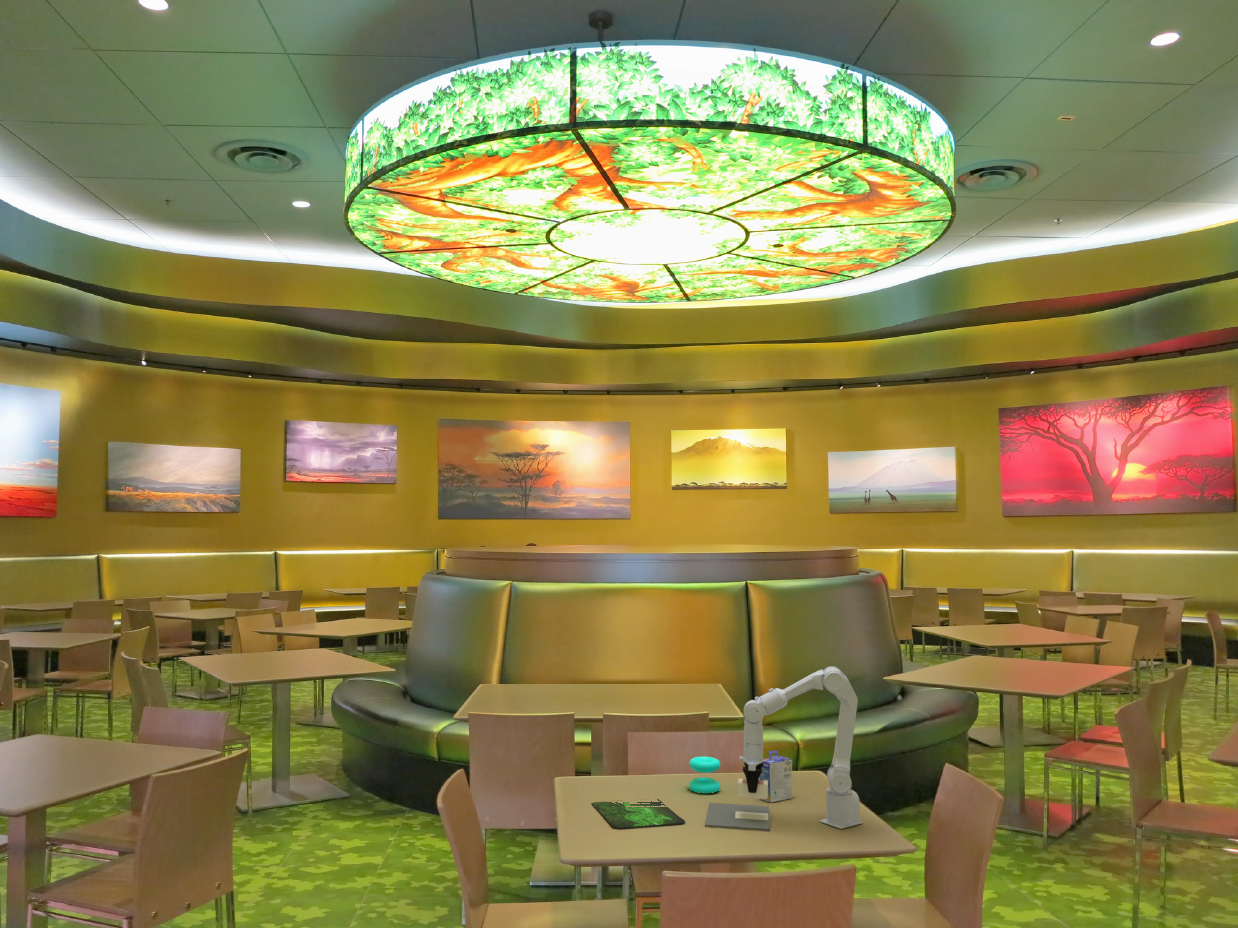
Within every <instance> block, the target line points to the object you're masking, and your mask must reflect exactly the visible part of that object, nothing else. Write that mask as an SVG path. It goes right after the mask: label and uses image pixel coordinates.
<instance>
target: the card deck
mask: <svg viewBox="0 0 1238 928" xmlns="http://www.w3.org/2000/svg"><path fill="white" fill-rule="evenodd" d="M737 798H748V799H758V800H759V799H760V800H762V799H767V798H768V781H766V780H760V779H759V780H758V786H757V791H756V793H749V791H748V786H747V780H746V778H738V782H737Z"/></svg>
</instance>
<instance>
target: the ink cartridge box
mask: <svg viewBox="0 0 1238 928" xmlns="http://www.w3.org/2000/svg"><path fill="white" fill-rule="evenodd" d="M767 753H768V756H769V757H768V758H764V761H763V766H762V768H761V769H762V772H761V774H760V777H759V780H766V781H768V798H767V799H761V800H762V801H765V802H768V803H775V802H780V801H785V800H789V799H793V759H792V758H788V757H786V756H781V755H780V756H779V753H778V751H777V750H769V751H768V752H767ZM772 754H775V755H772Z"/></svg>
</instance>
